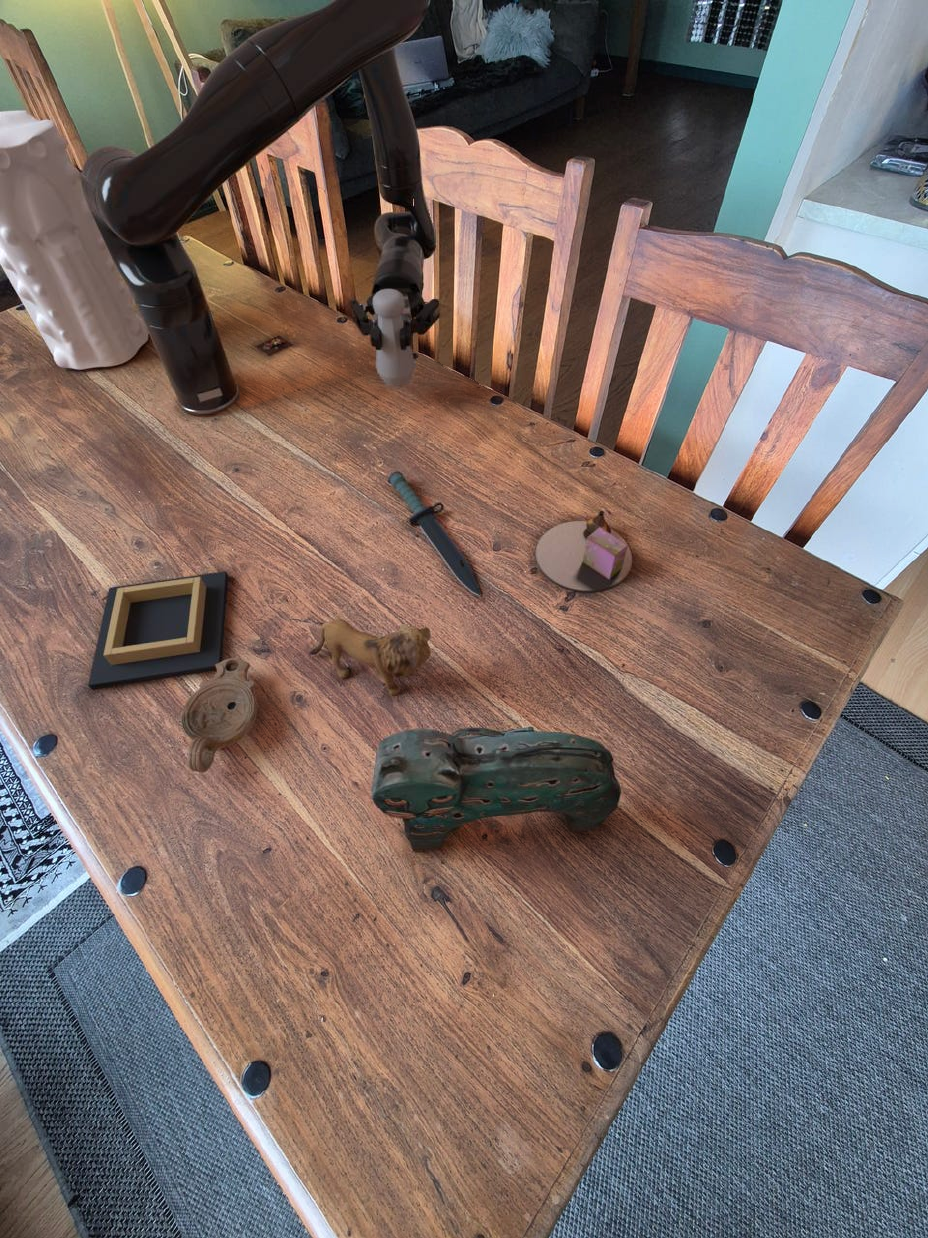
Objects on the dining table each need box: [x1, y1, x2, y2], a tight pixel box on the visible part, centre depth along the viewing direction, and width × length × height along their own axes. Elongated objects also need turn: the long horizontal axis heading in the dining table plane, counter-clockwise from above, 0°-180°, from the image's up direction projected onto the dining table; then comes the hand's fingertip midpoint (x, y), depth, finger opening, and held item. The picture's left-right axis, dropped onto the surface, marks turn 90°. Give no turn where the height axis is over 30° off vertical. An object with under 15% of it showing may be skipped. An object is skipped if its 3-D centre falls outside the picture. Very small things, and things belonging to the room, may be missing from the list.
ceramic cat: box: [371, 726, 622, 853], centre depth 52 cm, size 20×6×20 cm, turn 95°
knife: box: [387, 470, 483, 597], centre depth 82 cm, size 23×2×5 cm
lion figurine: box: [308, 618, 432, 696], centre depth 67 cm, size 15×5×9 cm, turn 75°
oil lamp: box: [180, 657, 258, 773], centre depth 65 cm, size 13×8×5 cm, turn 174°
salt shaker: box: [373, 289, 416, 389], centre depth 91 cm, size 6×6×13 cm
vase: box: [0, 109, 149, 371], centre depth 100 cm, size 17×16×32 cm
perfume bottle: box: [534, 510, 633, 594], centre depth 78 cm, size 12×12×4 cm
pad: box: [87, 570, 230, 691], centre depth 73 cm, size 14×14×3 cm
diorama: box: [254, 334, 294, 357], centre depth 110 cm, size 3×4×2 cm
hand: (390, 343), depth 88 cm, fingers closed on salt shaker, 3 cm apart
